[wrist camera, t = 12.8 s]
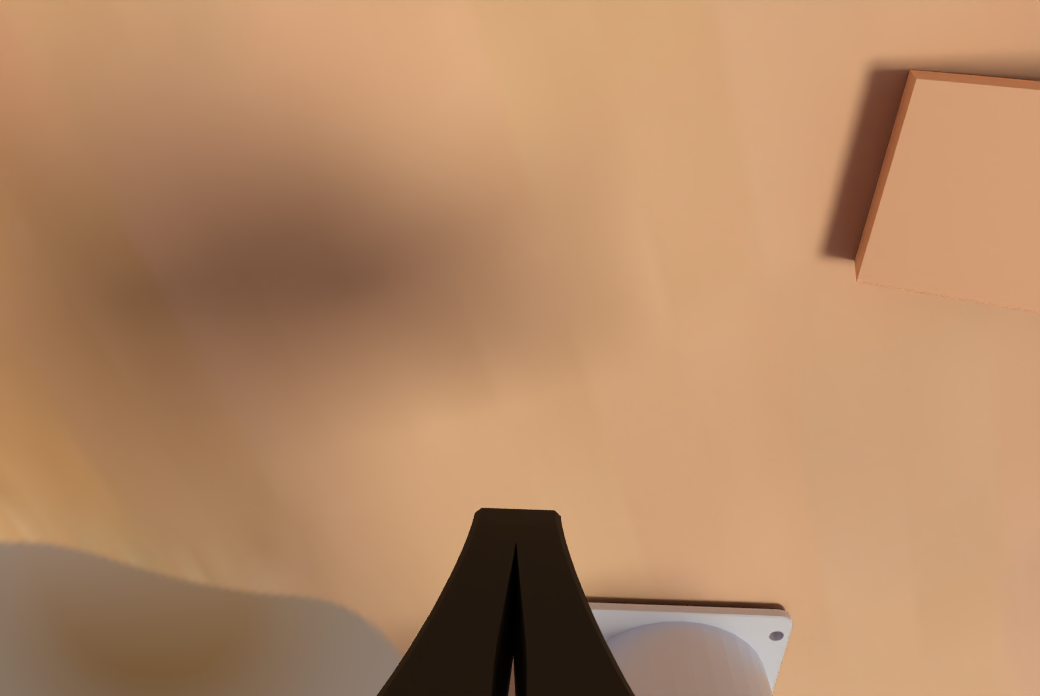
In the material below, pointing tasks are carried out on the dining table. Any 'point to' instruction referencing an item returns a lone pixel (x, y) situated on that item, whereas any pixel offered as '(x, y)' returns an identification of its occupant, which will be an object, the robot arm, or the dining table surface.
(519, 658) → the robot arm
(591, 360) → the dining table surface
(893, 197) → the terracotta domino
